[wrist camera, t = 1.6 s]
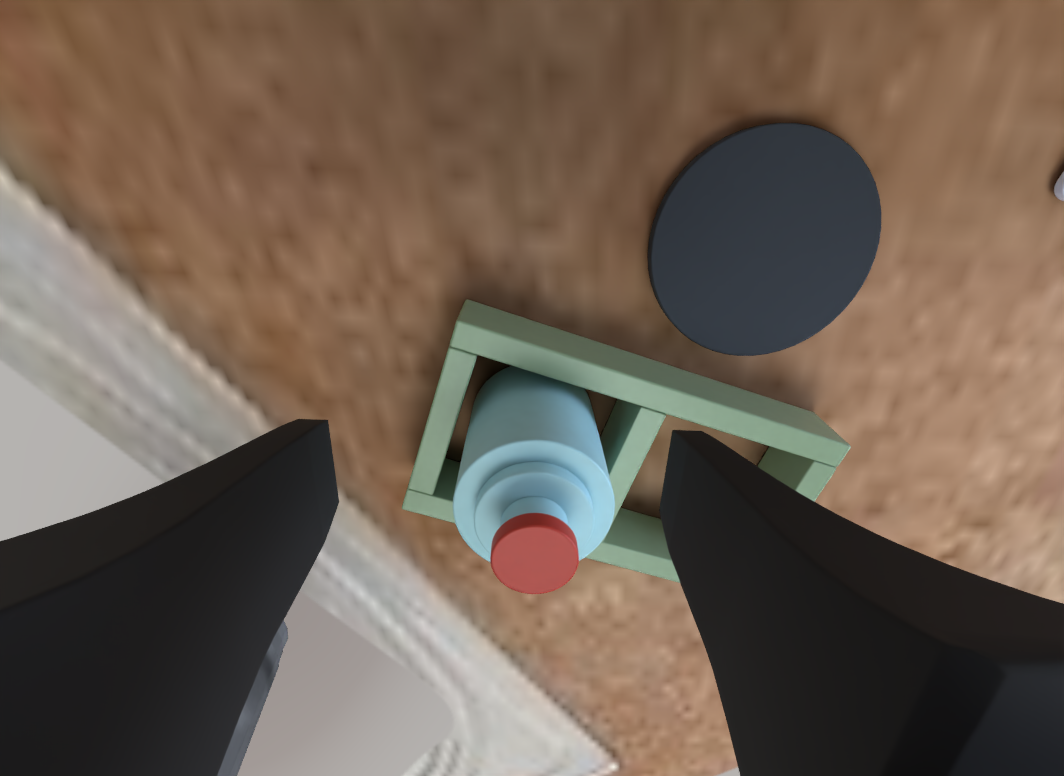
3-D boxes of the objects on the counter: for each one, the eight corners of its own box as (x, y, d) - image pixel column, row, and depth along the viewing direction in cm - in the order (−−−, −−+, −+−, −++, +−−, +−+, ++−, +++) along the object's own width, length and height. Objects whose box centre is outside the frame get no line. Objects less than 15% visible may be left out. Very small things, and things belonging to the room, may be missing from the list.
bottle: (611, 383, 21) (658, 514, 14) (567, 482, 23) (587, 645, 16) (492, 345, 21) (471, 460, 13) (457, 450, 22) (421, 605, 15)
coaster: (918, 172, 18) (930, 173, 18) (797, 376, 21) (805, 381, 21) (708, 86, 17) (714, 83, 16) (613, 314, 20) (616, 318, 20)
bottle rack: (465, 297, 20) (456, 319, 17) (814, 411, 22) (852, 446, 19) (415, 469, 23) (400, 509, 20) (725, 555, 25) (747, 601, 22)
